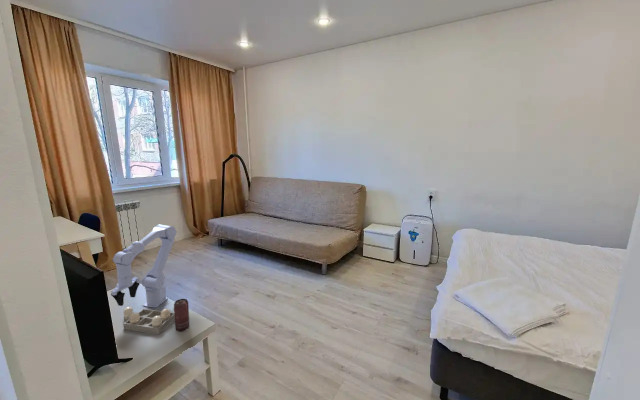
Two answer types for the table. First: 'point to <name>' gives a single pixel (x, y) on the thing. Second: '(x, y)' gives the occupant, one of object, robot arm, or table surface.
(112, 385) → the table surface
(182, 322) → the can
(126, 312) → the egg
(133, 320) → the egg
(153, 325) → the egg
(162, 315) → the egg
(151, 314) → the carton
